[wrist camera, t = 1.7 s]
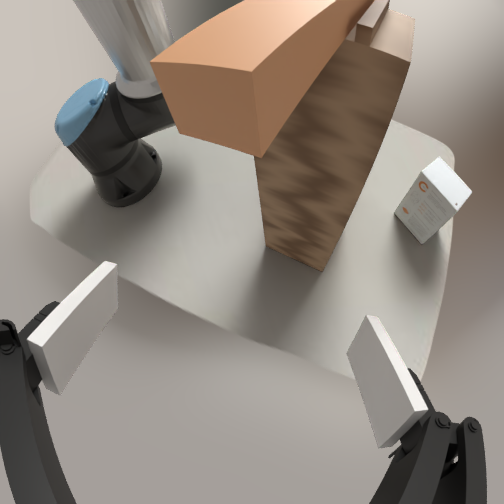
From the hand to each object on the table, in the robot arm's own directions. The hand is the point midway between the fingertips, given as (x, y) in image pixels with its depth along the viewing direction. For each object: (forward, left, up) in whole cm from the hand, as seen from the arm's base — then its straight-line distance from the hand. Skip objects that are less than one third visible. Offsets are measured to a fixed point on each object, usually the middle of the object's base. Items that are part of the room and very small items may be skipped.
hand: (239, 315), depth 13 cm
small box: (+16, +30, -29) cm, 45 cm away
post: (-2, +18, -29) cm, 34 cm away
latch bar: (-2, +16, +7) cm, 17 cm away
